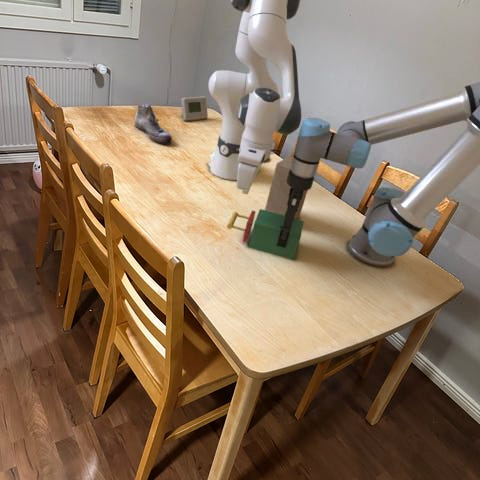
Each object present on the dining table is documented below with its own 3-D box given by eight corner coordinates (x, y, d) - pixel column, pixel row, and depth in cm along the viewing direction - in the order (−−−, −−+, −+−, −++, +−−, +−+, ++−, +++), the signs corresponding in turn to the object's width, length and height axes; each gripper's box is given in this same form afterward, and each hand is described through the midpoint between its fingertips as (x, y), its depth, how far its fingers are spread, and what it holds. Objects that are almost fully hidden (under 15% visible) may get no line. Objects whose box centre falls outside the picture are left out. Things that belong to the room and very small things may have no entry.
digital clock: (183, 121, 220) (185, 100, 214) (174, 115, 226) (177, 94, 220) (210, 121, 229) (214, 100, 223) (202, 115, 235) (205, 95, 229)
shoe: (175, 145, 192) (178, 118, 185) (151, 146, 186) (153, 118, 180) (154, 124, 209) (157, 98, 202) (132, 124, 203) (133, 97, 197)
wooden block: (287, 226, 151) (303, 173, 140) (262, 215, 155) (276, 162, 144) (299, 217, 159) (315, 166, 148) (275, 206, 162) (289, 155, 152)
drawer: (224, 236, 137) (228, 217, 133) (231, 223, 144) (234, 205, 140) (283, 253, 135) (289, 234, 132) (286, 238, 143) (292, 221, 139)
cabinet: (248, 246, 136) (254, 223, 131) (254, 231, 144) (259, 208, 140) (293, 259, 135) (300, 236, 130) (296, 243, 143) (303, 220, 139)
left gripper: (251, 135, 134) (242, 176, 141) (237, 157, 117) (228, 203, 124) (271, 140, 134) (261, 181, 141) (260, 163, 116) (249, 208, 123)
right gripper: (293, 156, 136) (276, 218, 147) (284, 184, 117) (265, 253, 128) (317, 162, 135) (298, 224, 147) (312, 192, 116) (290, 260, 128)
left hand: (245, 192), depth 132 cm, fingers closed
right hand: (283, 237), depth 138 cm, fingers closed on cabinet, 10 cm apart
